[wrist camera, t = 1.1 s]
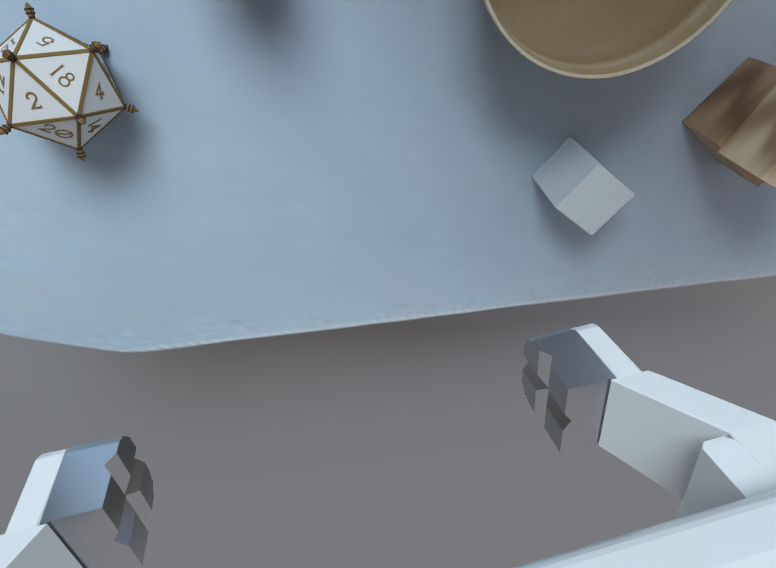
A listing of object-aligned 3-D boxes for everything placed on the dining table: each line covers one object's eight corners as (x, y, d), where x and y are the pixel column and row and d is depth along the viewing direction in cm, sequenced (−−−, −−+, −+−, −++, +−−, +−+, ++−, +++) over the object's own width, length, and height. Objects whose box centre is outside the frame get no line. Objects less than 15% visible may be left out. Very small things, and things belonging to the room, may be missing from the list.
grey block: (569, 135, 44) (599, 163, 39) (602, 164, 46) (635, 194, 41) (531, 176, 46) (555, 207, 41) (565, 202, 48) (591, 235, 43)
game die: (124, 59, 41) (181, 122, 36) (44, 133, 41) (91, 206, 36) (19, -44, 33) (74, 19, 28) (-82, 47, 33) (-43, 126, 28)
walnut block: (748, 56, 42) (793, 72, 38) (786, 104, 44) (832, 123, 40) (681, 121, 44) (716, 142, 40) (720, 162, 47) (757, 186, 43)
